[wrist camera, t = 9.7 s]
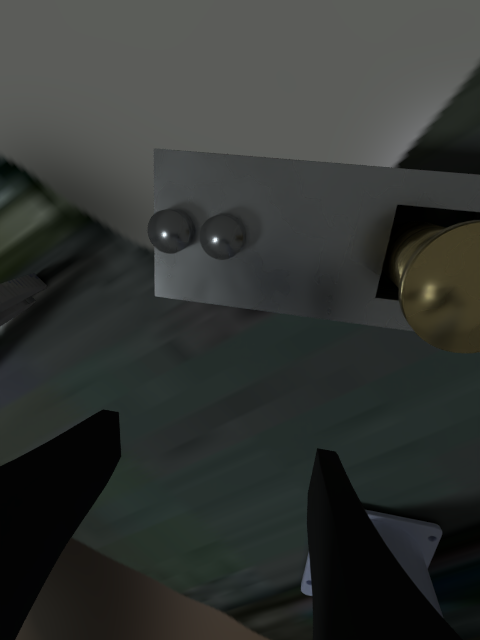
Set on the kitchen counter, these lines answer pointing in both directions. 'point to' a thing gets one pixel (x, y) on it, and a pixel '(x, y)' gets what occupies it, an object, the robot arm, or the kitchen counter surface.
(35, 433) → the kitchen counter surface
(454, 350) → the pin
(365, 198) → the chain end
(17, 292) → the caliper
